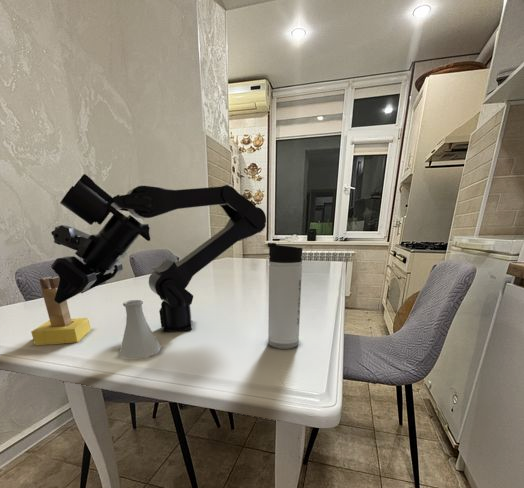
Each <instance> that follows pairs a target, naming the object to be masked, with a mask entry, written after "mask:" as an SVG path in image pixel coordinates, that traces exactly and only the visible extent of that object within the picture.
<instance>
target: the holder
mask: <svg viewBox="0 0 524 488" xmlns="http://www.w3.org/2000/svg"><path fill="white" fill-rule="evenodd" d="M71 321H72V323H71V324H70V325H69V326H65V327H51V323H50V319H49V320H47V321H46V322H44V323H43V324H41V325H39V326H38V327H36V328H35V329H33V330H31V332H30V333H31V336H32V340H33V343H34V345H35V346H43V345H57V344H58V345H60V344H72V343H79V342H80V341H81V340H82V339H83V338H84V337H85V336H86V335H87V334H89V333H90V331H91V330H92V327H91V324H90V319H89V317H79V318H78V317H77V318H71Z"/></svg>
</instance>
